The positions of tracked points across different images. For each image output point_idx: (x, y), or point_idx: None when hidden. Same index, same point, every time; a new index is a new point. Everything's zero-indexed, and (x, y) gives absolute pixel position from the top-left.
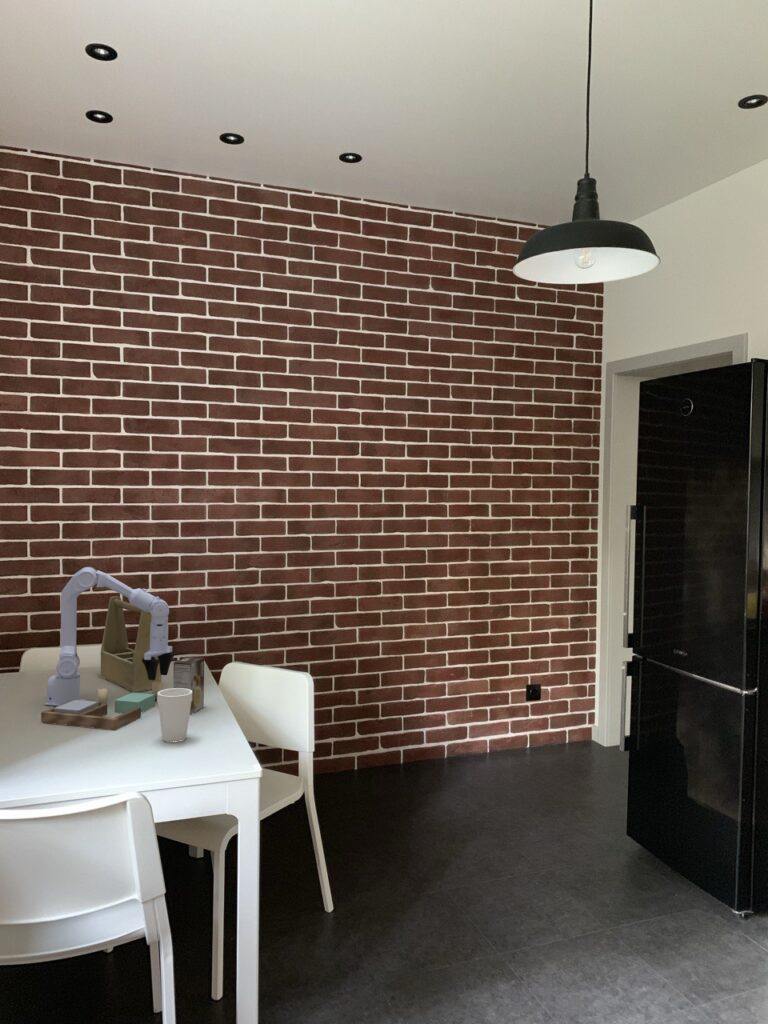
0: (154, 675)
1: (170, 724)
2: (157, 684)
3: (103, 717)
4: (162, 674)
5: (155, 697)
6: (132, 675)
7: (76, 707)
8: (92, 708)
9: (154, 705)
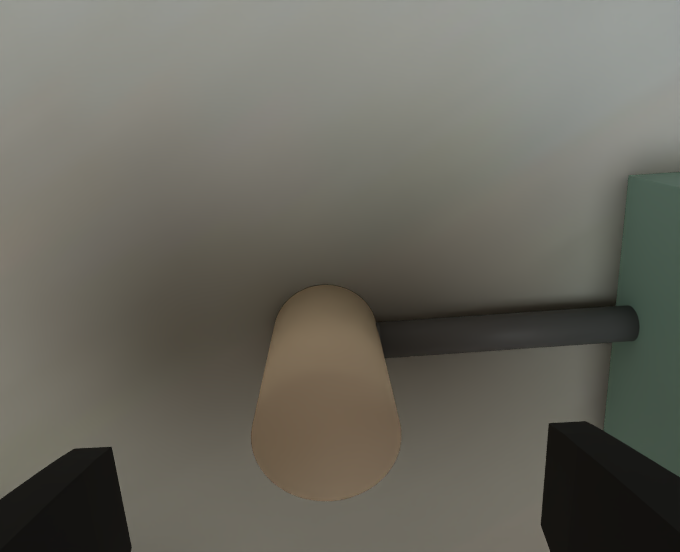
0: (664, 474)
1: None
2: (385, 392)
3: None
4: (123, 523)
5: (388, 324)
6: None
7: None
8: None
9: (635, 176)
